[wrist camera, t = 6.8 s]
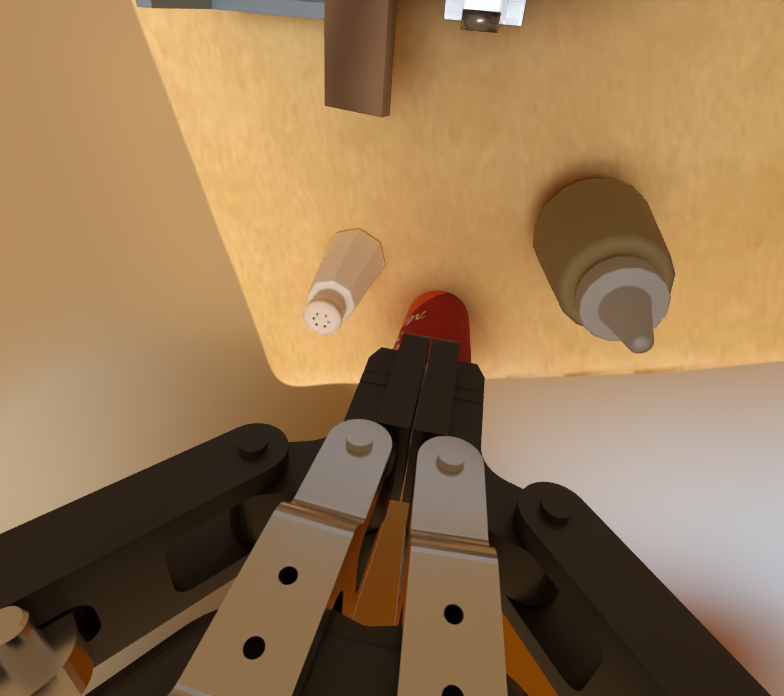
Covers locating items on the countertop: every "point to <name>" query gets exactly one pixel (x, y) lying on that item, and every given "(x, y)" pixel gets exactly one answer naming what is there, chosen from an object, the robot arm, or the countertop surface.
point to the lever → (359, 54)
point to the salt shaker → (342, 280)
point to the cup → (246, 6)
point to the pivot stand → (485, 13)
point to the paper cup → (439, 321)
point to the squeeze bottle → (606, 260)
